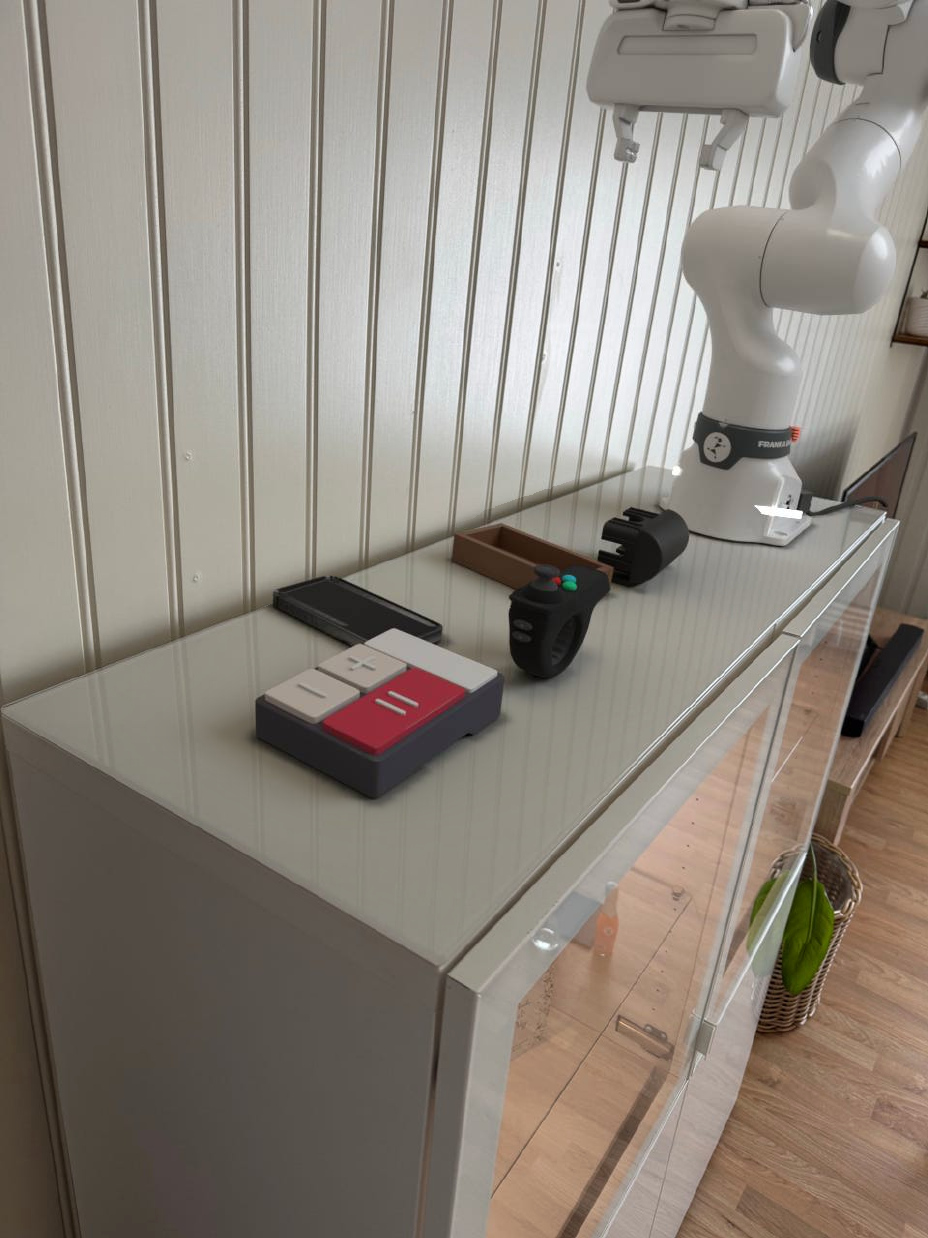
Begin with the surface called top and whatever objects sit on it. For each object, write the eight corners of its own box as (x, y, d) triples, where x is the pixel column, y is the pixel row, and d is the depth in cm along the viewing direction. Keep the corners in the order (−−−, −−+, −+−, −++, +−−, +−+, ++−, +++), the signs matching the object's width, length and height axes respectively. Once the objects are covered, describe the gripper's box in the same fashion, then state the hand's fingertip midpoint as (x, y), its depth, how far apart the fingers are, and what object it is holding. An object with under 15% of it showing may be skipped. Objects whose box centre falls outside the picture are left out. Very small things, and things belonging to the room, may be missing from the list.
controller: (489, 683, 75) (505, 568, 71) (561, 639, 85) (578, 535, 81) (534, 702, 73) (554, 585, 69) (603, 654, 83) (623, 549, 79)
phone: (331, 573, 90) (448, 626, 81) (330, 584, 90) (446, 638, 82) (266, 591, 84) (385, 650, 76) (266, 603, 84) (384, 663, 76)
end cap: (654, 596, 98) (667, 535, 95) (592, 578, 100) (603, 518, 98) (682, 571, 106) (695, 514, 103) (623, 555, 109) (634, 499, 106)
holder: (497, 548, 106) (501, 522, 105) (608, 595, 96) (614, 567, 95) (451, 560, 100) (454, 533, 99) (563, 610, 91) (568, 581, 90)
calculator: (251, 689, 62) (392, 618, 74) (252, 743, 64) (390, 665, 76) (377, 753, 57) (508, 665, 68) (374, 809, 59) (502, 715, 70)
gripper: (835, 3, 77) (782, 182, 82) (634, 10, 90) (598, 165, 94) (803, -27, 73) (749, 164, 77) (597, -16, 85) (561, 149, 90)
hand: (665, 164), depth 86 cm, fingers open, 8 cm apart
